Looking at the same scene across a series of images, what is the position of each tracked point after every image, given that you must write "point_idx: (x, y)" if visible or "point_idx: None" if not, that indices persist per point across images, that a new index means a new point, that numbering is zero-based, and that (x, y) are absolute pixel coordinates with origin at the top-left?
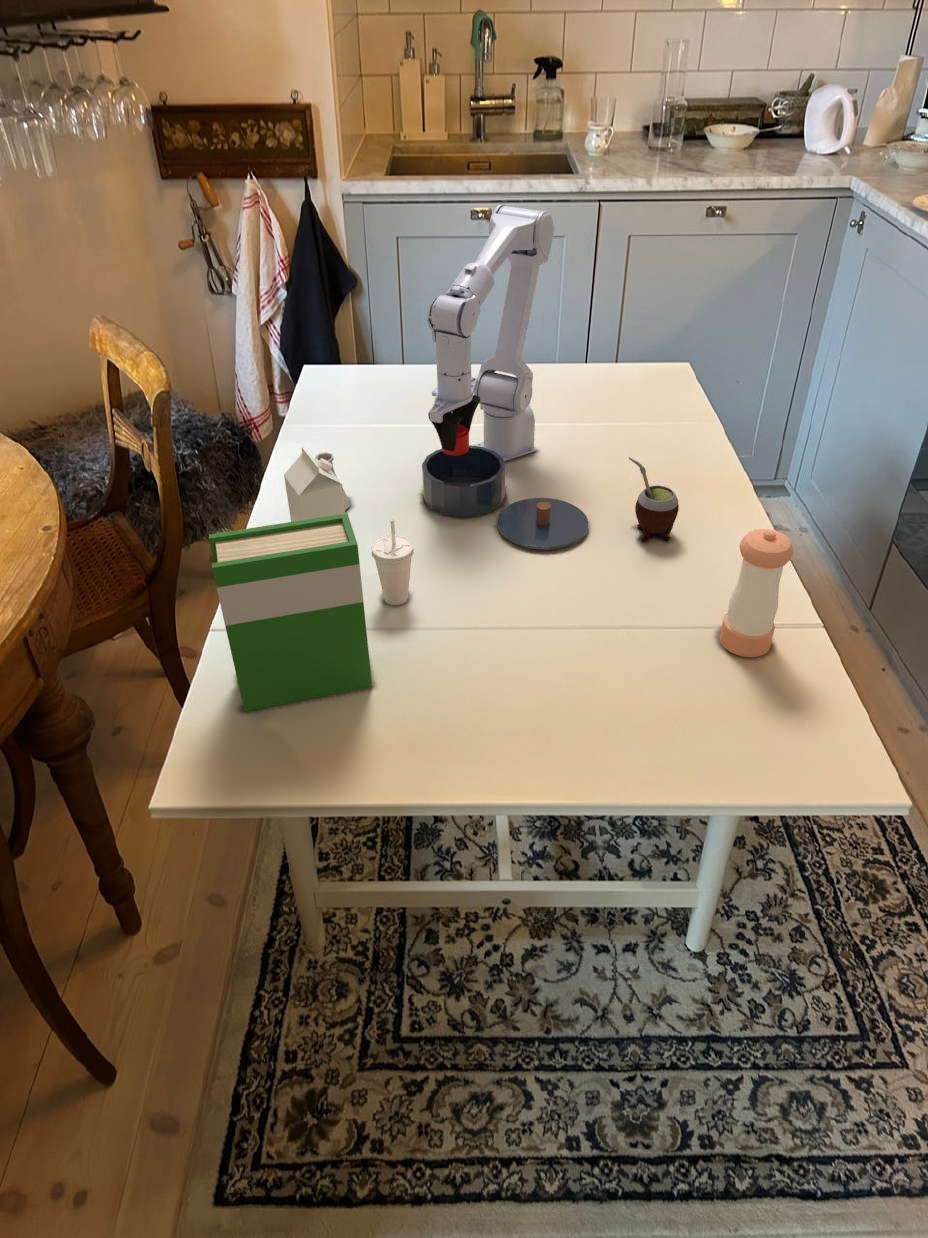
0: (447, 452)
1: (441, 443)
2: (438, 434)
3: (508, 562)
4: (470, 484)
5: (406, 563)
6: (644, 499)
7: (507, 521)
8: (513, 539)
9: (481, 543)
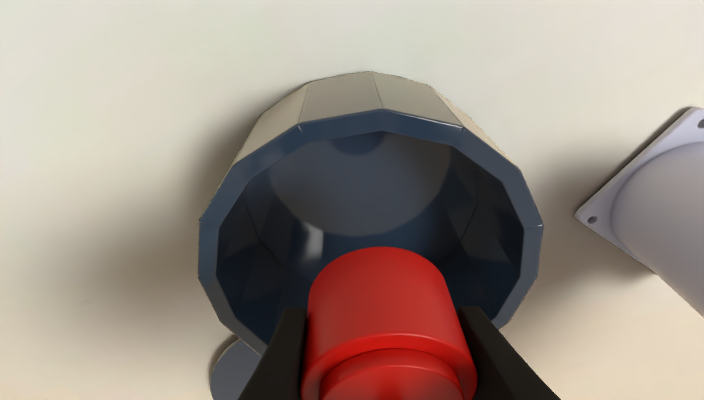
0: (308, 301)
1: (272, 337)
2: (241, 394)
3: (156, 374)
4: (253, 340)
5: None
6: None
7: None
8: (214, 376)
9: (179, 317)
